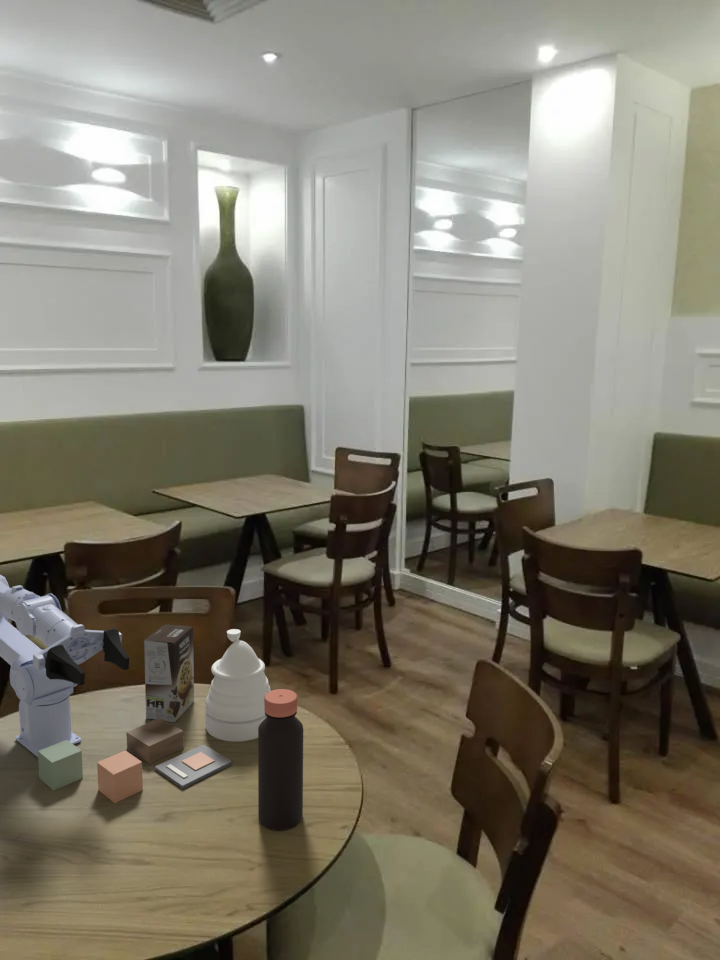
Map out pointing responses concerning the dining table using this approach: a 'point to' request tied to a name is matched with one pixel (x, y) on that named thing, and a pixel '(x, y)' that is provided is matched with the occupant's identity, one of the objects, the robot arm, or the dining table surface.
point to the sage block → (60, 764)
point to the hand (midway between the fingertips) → (105, 671)
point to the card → (192, 766)
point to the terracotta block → (119, 776)
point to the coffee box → (169, 672)
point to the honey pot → (236, 693)
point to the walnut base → (155, 740)
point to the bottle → (280, 762)
